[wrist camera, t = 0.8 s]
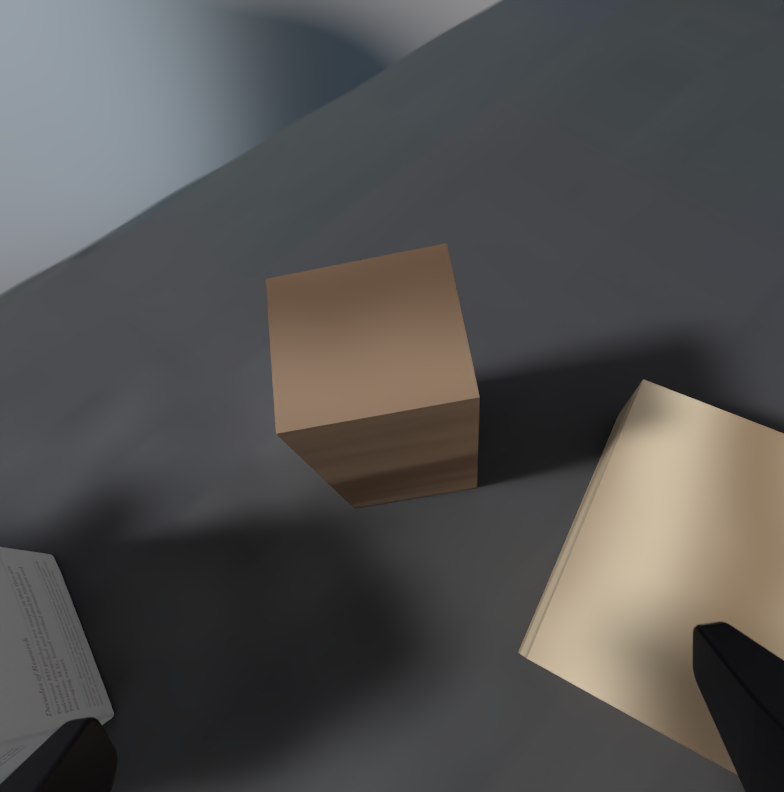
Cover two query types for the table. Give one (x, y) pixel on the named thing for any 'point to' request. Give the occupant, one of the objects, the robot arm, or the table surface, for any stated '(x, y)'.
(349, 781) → the table surface
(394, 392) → the walnut block
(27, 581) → the supplement box
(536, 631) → the beech block
